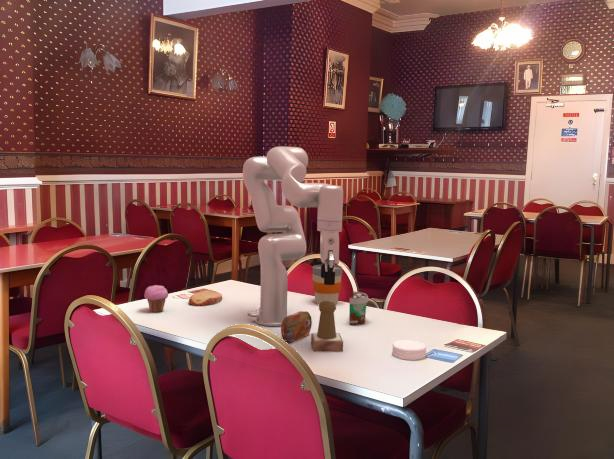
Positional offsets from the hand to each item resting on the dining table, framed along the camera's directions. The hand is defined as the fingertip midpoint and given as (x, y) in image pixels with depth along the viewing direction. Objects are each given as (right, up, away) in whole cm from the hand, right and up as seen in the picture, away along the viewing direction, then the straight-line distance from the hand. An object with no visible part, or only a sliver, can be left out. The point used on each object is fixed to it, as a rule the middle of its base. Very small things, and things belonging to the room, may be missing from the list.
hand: (327, 281), depth 181 cm
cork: (0, -17, +2) cm, 18 cm away
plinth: (0, -21, +2) cm, 21 cm away
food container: (+13, -18, +32) cm, 39 cm away
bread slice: (-48, -14, +61) cm, 79 cm away
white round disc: (+24, -22, -4) cm, 33 cm away
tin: (-10, -20, +10) cm, 24 cm away
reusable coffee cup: (+2, -15, +60) cm, 62 cm away
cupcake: (-63, -15, +42) cm, 78 cm away
